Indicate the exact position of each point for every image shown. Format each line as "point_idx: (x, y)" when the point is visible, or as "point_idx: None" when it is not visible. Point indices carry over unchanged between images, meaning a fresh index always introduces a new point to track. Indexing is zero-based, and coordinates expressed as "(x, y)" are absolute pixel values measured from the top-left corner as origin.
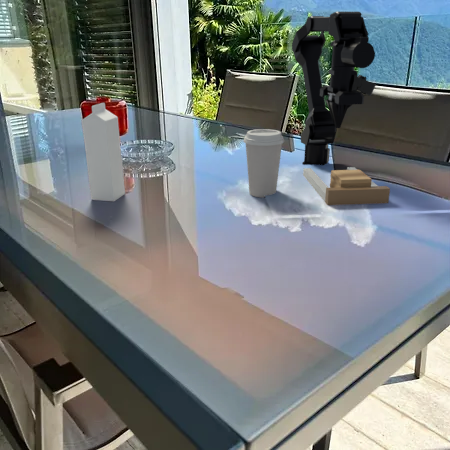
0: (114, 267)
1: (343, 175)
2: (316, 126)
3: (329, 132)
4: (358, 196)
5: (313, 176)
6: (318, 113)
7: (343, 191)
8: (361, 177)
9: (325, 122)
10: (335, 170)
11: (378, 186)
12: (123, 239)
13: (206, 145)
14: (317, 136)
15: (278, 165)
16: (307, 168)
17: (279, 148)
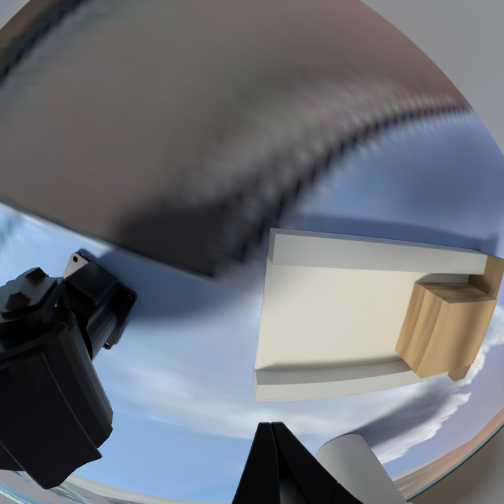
0: (430, 478)
1: (459, 355)
2: (91, 437)
3: (81, 356)
4: None
5: (343, 390)
6: (37, 466)
7: None
8: (484, 319)
9: (61, 415)
10: (426, 369)
11: (494, 278)
12: None
13: None
14: (105, 396)
15: (383, 473)
16: (257, 393)
17: (402, 497)
